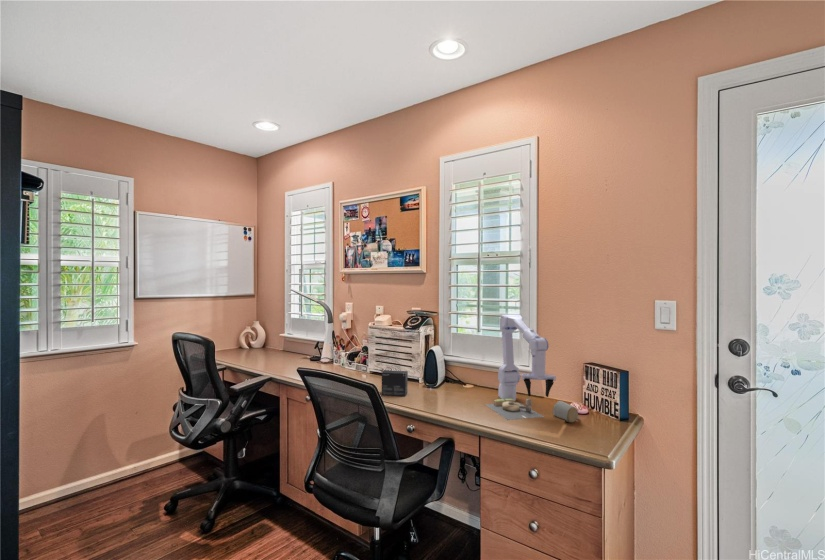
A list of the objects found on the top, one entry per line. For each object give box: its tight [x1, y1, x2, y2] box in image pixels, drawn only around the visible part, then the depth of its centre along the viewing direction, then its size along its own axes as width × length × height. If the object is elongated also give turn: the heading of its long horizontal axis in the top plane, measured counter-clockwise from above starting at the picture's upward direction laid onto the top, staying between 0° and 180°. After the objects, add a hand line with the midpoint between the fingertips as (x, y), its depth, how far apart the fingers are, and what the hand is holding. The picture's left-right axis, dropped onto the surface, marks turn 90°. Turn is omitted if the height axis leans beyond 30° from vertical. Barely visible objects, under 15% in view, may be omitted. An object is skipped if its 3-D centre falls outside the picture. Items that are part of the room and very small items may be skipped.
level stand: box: [484, 398, 545, 421], centre depth 184 cm, size 22×18×4 cm
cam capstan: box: [502, 398, 532, 412], centre depth 185 cm, size 13×8×5 cm, turn 60°
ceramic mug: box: [552, 400, 580, 424], centre depth 177 cm, size 11×8×8 cm
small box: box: [381, 369, 409, 397], centre depth 213 cm, size 13×7×12 cm, turn 82°
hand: (538, 395), depth 178 cm, fingers open, 7 cm apart
